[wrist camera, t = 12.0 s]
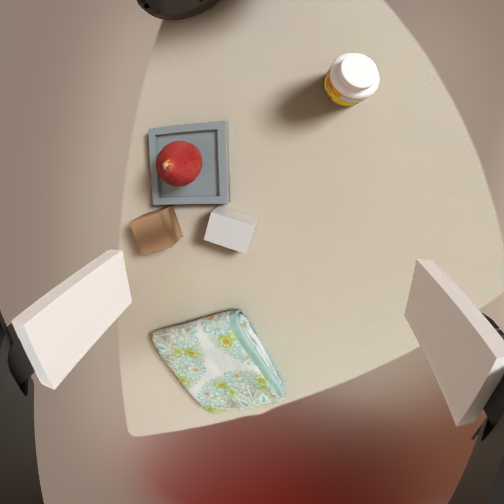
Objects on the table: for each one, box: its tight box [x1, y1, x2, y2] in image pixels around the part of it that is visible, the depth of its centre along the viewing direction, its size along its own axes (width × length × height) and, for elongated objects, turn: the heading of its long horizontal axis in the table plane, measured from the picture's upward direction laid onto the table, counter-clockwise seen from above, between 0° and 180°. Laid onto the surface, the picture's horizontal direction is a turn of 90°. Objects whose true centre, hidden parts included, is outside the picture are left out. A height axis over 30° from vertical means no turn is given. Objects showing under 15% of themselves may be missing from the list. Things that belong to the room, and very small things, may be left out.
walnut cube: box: [129, 205, 183, 255], centre depth 41 cm, size 5×5×5 cm
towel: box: [152, 309, 286, 413], centre depth 49 cm, size 18×21×5 cm
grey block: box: [204, 206, 259, 254], centre depth 40 cm, size 4×6×4 cm, turn 73°
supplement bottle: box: [324, 53, 379, 106], centre depth 28 cm, size 6×6×10 cm
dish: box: [148, 121, 230, 205], centre depth 38 cm, size 11×11×2 cm
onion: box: [156, 141, 203, 187], centre depth 35 cm, size 6×6×8 cm
